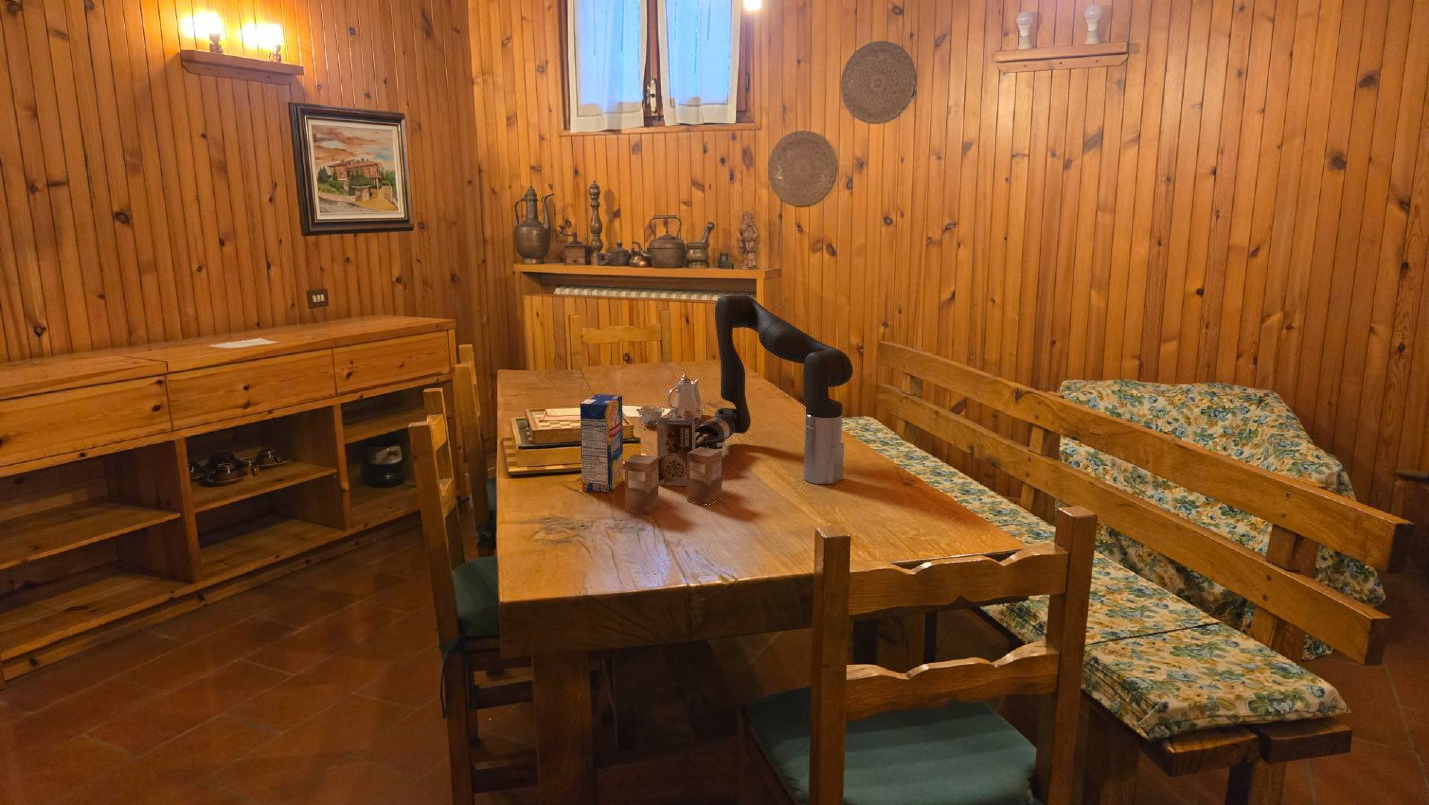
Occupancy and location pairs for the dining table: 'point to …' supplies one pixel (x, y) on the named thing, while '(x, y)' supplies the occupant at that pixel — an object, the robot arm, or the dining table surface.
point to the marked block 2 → (704, 475)
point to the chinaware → (676, 404)
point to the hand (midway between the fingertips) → (688, 449)
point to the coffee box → (674, 449)
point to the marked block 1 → (641, 484)
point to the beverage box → (601, 443)
